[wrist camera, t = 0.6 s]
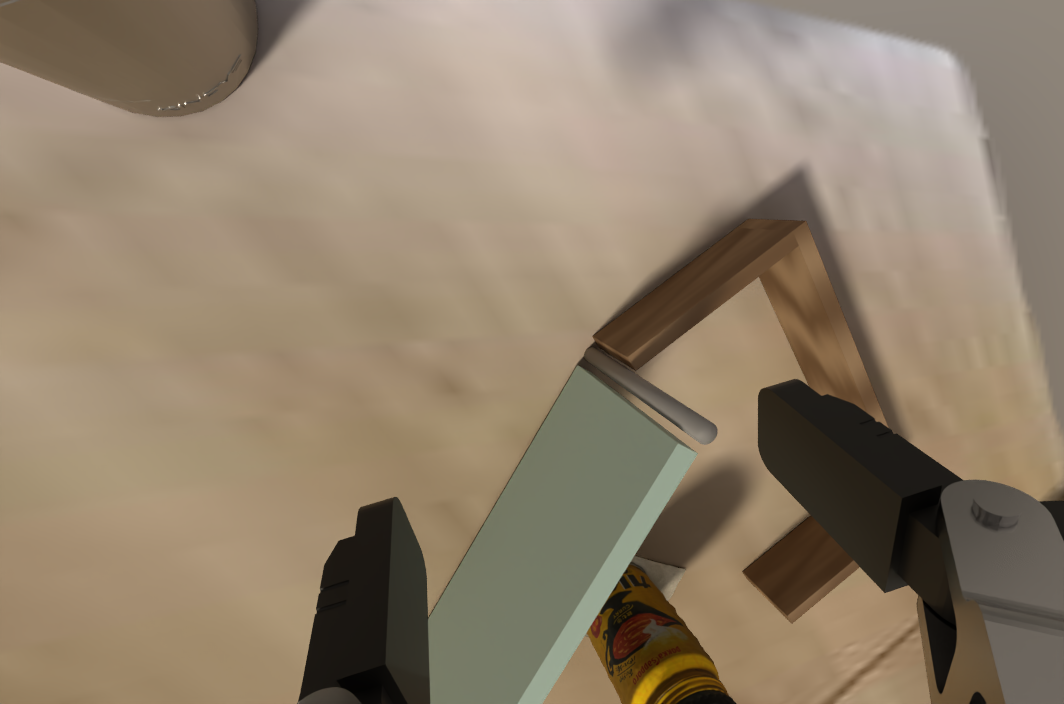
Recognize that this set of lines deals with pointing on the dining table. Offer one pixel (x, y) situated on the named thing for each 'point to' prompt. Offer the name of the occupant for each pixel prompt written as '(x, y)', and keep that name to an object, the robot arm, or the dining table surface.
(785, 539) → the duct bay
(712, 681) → the condiment
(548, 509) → the cover door
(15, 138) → the dining table surface
